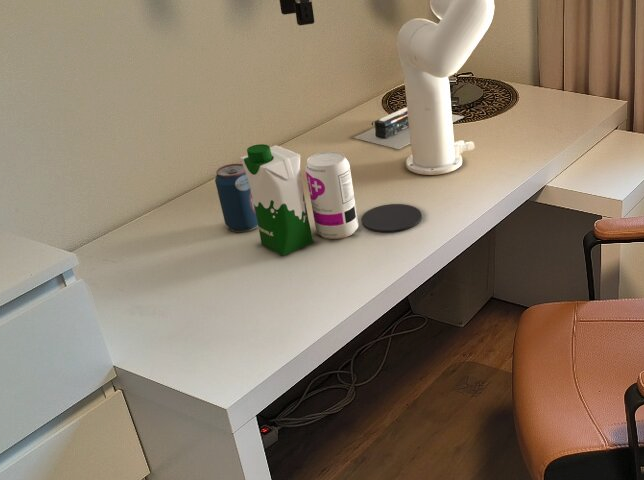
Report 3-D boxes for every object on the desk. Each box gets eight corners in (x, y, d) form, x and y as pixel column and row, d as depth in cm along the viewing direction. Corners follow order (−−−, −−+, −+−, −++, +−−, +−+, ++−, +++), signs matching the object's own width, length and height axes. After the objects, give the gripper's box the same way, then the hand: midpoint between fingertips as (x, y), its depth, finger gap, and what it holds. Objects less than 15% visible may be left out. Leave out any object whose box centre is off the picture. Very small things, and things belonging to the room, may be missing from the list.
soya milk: (254, 245, 174) (232, 146, 163) (294, 229, 179) (275, 132, 168) (281, 259, 169) (261, 158, 158) (321, 242, 174) (303, 143, 163)
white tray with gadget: (353, 137, 220) (350, 120, 217) (420, 106, 237) (418, 91, 234) (398, 149, 213) (396, 131, 210) (464, 116, 230) (463, 100, 227)
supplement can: (327, 244, 173) (315, 171, 165) (309, 229, 179) (296, 157, 171) (366, 232, 177) (355, 160, 169) (347, 217, 183) (336, 147, 175)
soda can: (266, 227, 180) (254, 171, 173) (232, 236, 177) (218, 179, 170) (256, 215, 185) (244, 159, 178) (222, 223, 182) (208, 167, 175)
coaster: (407, 201, 189) (407, 199, 188) (431, 222, 180) (431, 220, 180) (352, 215, 184) (352, 213, 183) (375, 238, 175) (374, 235, 175)
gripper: (319, -74, 160) (332, 25, 169) (289, -87, 172) (302, 7, 182) (277, -70, 157) (292, 31, 166) (249, -83, 169) (265, 12, 179)
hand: (297, 18), depth 174 cm, fingers open, 9 cm apart
